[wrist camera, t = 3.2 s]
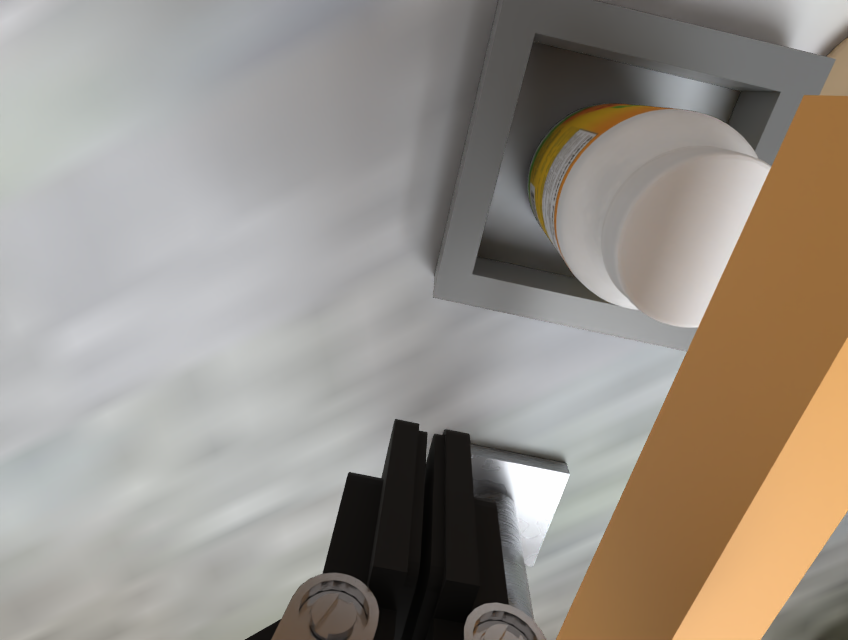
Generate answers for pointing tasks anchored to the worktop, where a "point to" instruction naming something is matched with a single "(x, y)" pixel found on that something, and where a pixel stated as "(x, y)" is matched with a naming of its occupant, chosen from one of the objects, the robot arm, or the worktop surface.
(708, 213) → the supplement bottle
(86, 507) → the worktop surface
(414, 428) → the robot arm
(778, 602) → the orange wooden bar
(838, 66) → the coaster
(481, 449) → the post
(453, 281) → the socket
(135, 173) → the worktop surface
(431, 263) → the worktop surface
